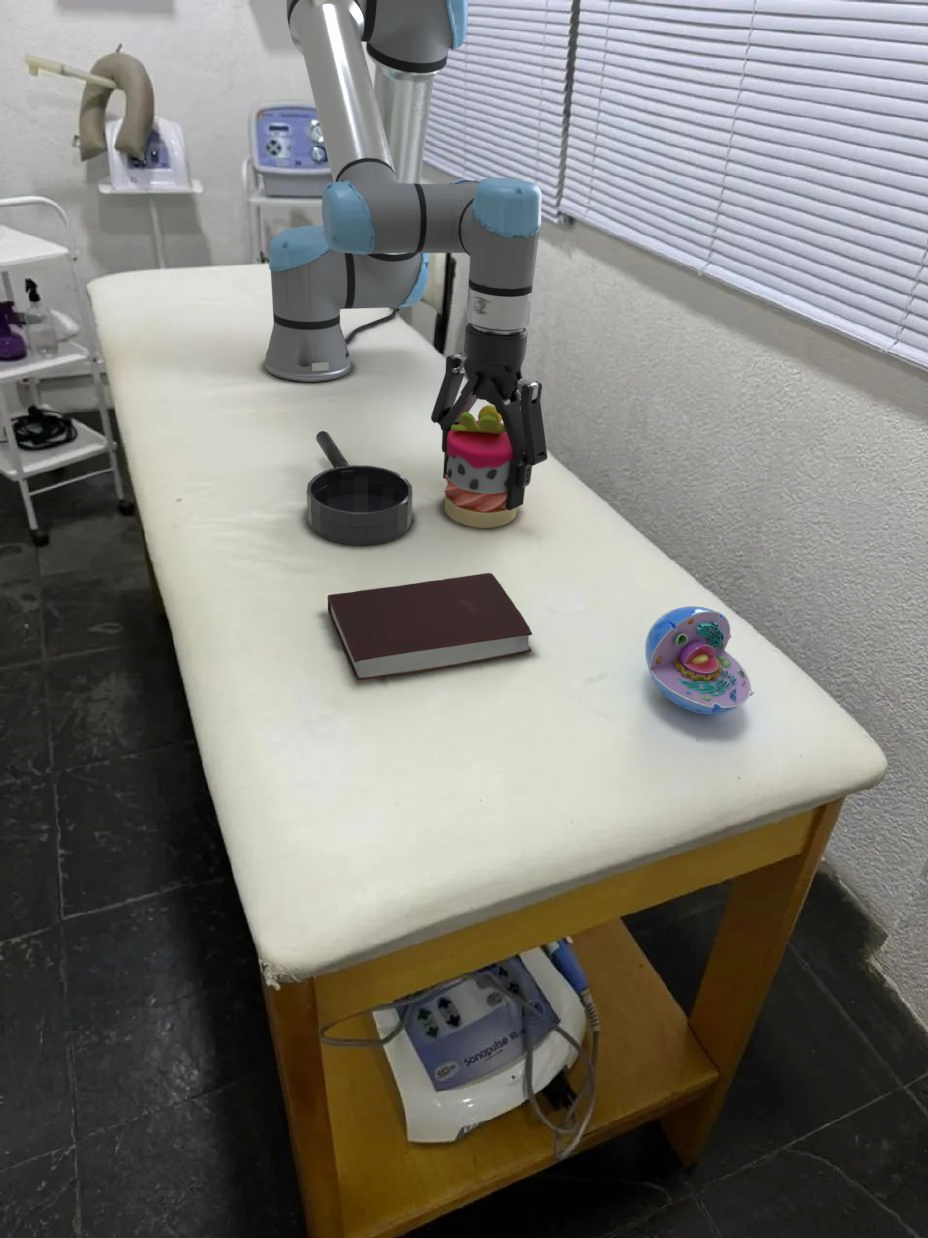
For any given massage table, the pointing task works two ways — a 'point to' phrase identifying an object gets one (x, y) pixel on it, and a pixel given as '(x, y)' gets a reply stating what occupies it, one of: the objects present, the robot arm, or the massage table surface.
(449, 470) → the cake
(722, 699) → the cell model
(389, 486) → the pan
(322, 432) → the pan handle
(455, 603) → the book
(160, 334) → the massage table surface
